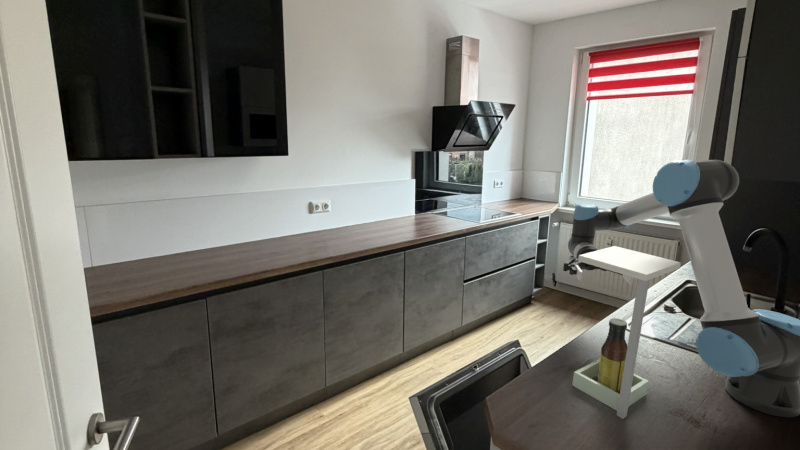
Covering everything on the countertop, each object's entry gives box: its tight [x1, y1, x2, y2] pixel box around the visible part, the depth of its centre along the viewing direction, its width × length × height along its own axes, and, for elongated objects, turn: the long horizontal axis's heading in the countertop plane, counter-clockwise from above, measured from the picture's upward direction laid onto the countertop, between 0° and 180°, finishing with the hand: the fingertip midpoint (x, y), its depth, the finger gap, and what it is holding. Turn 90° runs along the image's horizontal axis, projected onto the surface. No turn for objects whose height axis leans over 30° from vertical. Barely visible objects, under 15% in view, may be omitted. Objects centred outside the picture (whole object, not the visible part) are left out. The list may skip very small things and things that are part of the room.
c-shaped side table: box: [578, 245, 682, 420], centre depth 106 cm, size 16×16×36 cm
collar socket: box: [571, 358, 650, 412], centre depth 110 cm, size 13×13×4 cm
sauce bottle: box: [597, 317, 628, 394], centre depth 108 cm, size 7×6×20 cm
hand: (606, 278), depth 118 cm, fingers open, 13 cm apart
